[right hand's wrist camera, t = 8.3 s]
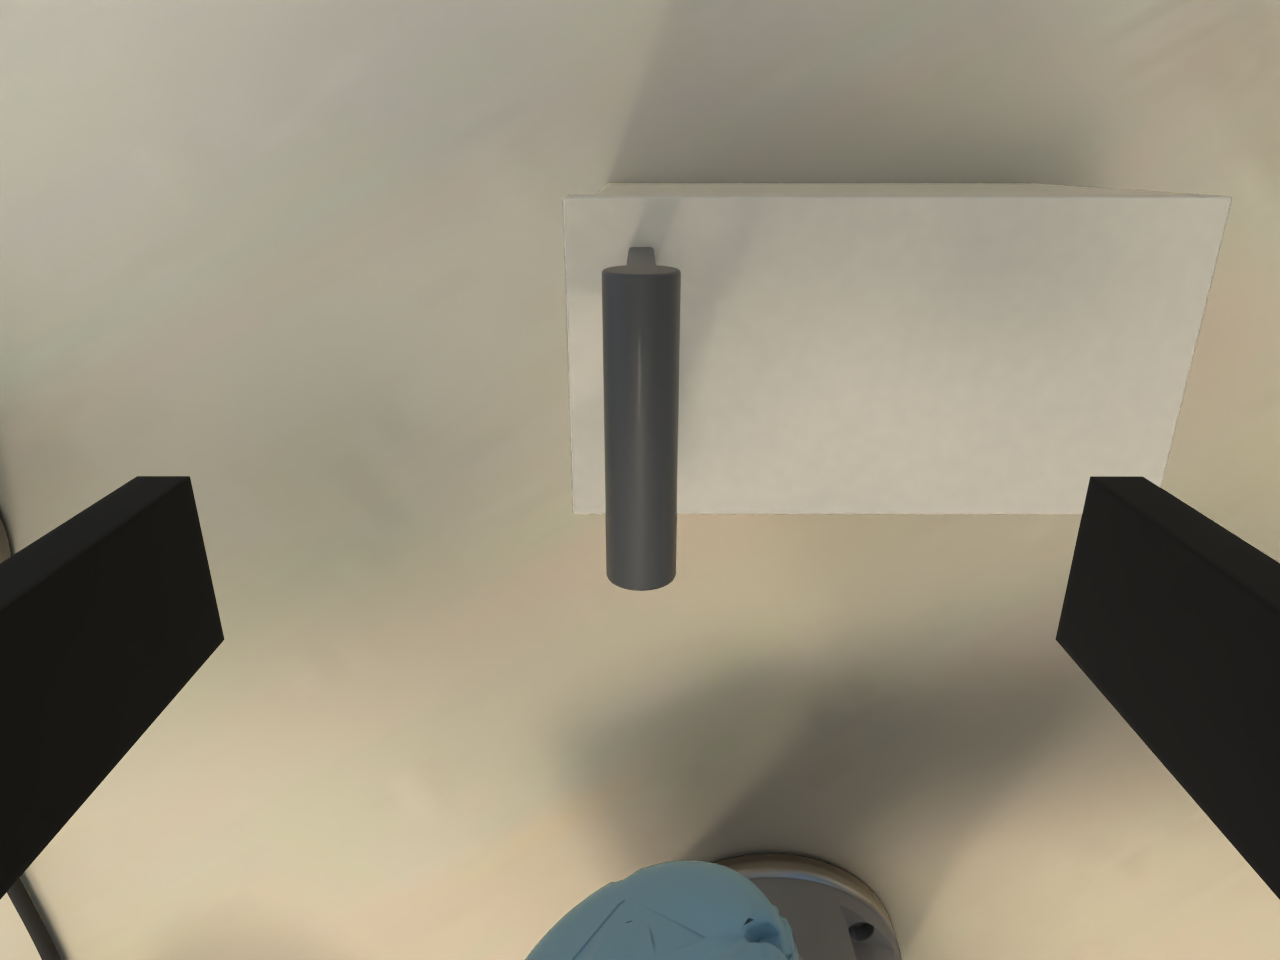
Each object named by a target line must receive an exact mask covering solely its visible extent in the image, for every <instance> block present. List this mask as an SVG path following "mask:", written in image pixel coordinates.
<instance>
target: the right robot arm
mask: <svg viewBox="0 0 1280 960" xmlns="http://www.w3.org/2000/svg"><path fill="white" fill-rule="evenodd" d="M223 640H224V636H223V631H222V626H221V622H220V617H219V612H218V608H217V603H216V598H215V593H214V589H213V584H212V579H211V575H210V570H209V565H208V560H207V556H206V551H205V546H204V541H203V537H202V532H201V527H200V523H199V518H198V513H197V508H196V504H195V499H194V494H193V489H192V485H191V480H190V476H137V477H136V478H134V479H132V480H131V481H129V482H128V483H126V484H125V485H123V486H121V487H120V488H118V489H117V490H115V491H114V492H112V493H110V494H109V495H107V496H106V497H104V498H103V499H101V500H99V501H98V502H96V503H95V504H93V505H92V506H90V507H88V508H87V509H85V510H84V511H82V512H81V513H79V514H77V515H76V516H74V517H73V518H71V519H70V520H68V521H66V522H65V523H63V524H62V525H60V526H59V527H57V528H55V529H54V530H52V531H51V532H49V533H48V534H46V535H44V536H43V537H41V538H40V539H38V540H37V541H35V542H33V543H32V544H30V545H29V546H27V547H25V548H24V549H22V550H21V551H19V552H18V553H16V554H14V555H13V556H11V553H10V547H9V541H8V538H7V534H6V531H5V527H4V525H3V522H2V520H1V517H0V899H1V898H2V897H3V896H4V895H5V893H6V892H7V894H8V895H9V897H10V899H11V901H12V903H13V904H14V906H15V908H16V910H17V912H18V914H19V915H20V917H21V919H22V921H23V923H24V925H25V927H26V928H27V930H28V932H29V934H30V936H31V938H32V940H33V942H34V944H35V946H36V948H37V950H38V952H39V954H40V956H41V959H42V960H61V959H60V956H59V954H58V952H57V950H56V948H55V945H54V943H53V941H52V939H51V937H50V935H49V933H48V931H47V929H46V927H45V925H44V923H43V921H42V919H41V917H40V915H39V913H38V911H37V910H36V908H35V906H34V904H33V902H32V900H31V898H30V896H29V895H28V893H27V891H26V889H25V887H24V885H23V884H22V882H21V880H20V878H19V877H20V876H21V875H22V874H23V873H24V871H25V870H26V869H27V868H28V867H29V866H30V864H31V863H32V862H33V861H34V860H35V859H36V857H37V856H38V855H39V854H40V853H41V852H42V850H43V849H44V848H45V847H46V846H47V845H48V843H49V842H50V841H51V840H52V839H53V838H54V837H55V835H56V834H57V833H58V832H59V831H60V830H61V828H62V827H63V826H64V825H65V824H66V823H67V821H68V820H69V819H70V818H71V817H72V816H73V814H74V813H75V812H76V811H77V810H78V809H79V807H80V806H81V805H82V804H83V803H84V802H85V801H86V799H87V798H88V797H89V796H90V795H91V794H92V792H93V791H94V790H95V789H96V788H97V787H98V785H99V784H100V783H101V782H102V781H103V780H104V778H105V777H106V776H107V775H108V774H109V773H110V772H111V770H112V769H113V768H114V767H115V766H116V765H117V763H118V762H119V761H120V760H121V759H122V758H123V756H124V755H125V754H126V753H127V752H128V751H129V749H130V748H131V747H132V746H133V745H134V744H135V742H136V741H137V740H138V739H139V738H140V737H141V736H142V734H143V733H144V732H145V731H146V730H147V729H148V727H149V726H150V725H151V724H152V723H153V722H154V720H155V719H156V718H157V717H158V716H159V715H160V713H161V712H162V711H163V710H164V709H165V708H166V707H167V705H168V704H169V703H170V702H171V701H172V700H173V698H174V697H175V696H176V695H177V694H178V693H179V691H180V690H181V689H182V688H183V687H184V686H185V684H186V683H187V682H188V681H189V680H190V679H191V677H192V676H193V675H194V674H195V673H196V672H197V671H198V669H199V668H200V667H201V666H202V665H203V664H204V662H205V661H206V660H207V659H208V658H209V657H210V655H211V654H212V653H213V652H214V651H215V650H216V648H217V647H218V646H219V645H220V644H221V643H222V642H223ZM1056 640H1057V642H1058V643H1059V644H1060V645H1061V646H1062V647H1063V648H1064V650H1065V651H1066V652H1067V653H1068V654H1069V655H1070V657H1071V658H1072V659H1073V660H1074V661H1075V662H1076V664H1077V665H1078V666H1079V667H1080V668H1081V669H1082V671H1083V672H1084V673H1085V674H1086V675H1087V676H1088V677H1089V679H1090V680H1091V681H1092V682H1093V683H1094V684H1095V686H1096V687H1097V688H1098V689H1099V690H1100V691H1101V693H1102V694H1103V695H1104V696H1105V697H1106V698H1107V700H1108V701H1109V702H1110V703H1111V704H1112V705H1113V707H1114V708H1115V709H1116V710H1117V711H1118V712H1119V713H1120V715H1121V716H1122V717H1123V718H1124V719H1125V720H1126V722H1127V723H1128V724H1129V725H1130V726H1131V727H1132V729H1133V730H1134V731H1135V732H1136V733H1137V734H1138V736H1139V737H1140V738H1141V739H1142V740H1143V741H1144V742H1145V744H1146V745H1147V746H1148V747H1149V748H1150V749H1151V751H1152V752H1153V753H1154V754H1155V755H1156V756H1157V758H1158V759H1159V760H1160V761H1161V762H1162V763H1163V765H1164V766H1165V767H1166V768H1167V769H1168V770H1169V772H1170V773H1171V774H1172V775H1173V776H1174V777H1175V778H1176V780H1177V781H1178V782H1179V783H1180V784H1181V785H1182V787H1183V788H1184V789H1185V790H1186V791H1187V792H1188V794H1189V795H1190V796H1191V797H1192V798H1193V799H1194V801H1195V802H1196V803H1197V804H1198V805H1199V806H1200V808H1201V809H1202V810H1203V811H1204V812H1205V813H1206V814H1207V816H1208V817H1209V818H1210V819H1211V820H1212V821H1213V823H1214V824H1215V825H1216V826H1217V827H1218V828H1219V830H1220V831H1221V832H1222V833H1223V834H1224V835H1225V837H1226V838H1227V839H1228V840H1229V841H1230V842H1231V843H1232V845H1233V846H1234V847H1235V848H1236V849H1237V850H1238V852H1239V853H1240V854H1241V855H1242V856H1243V857H1244V859H1245V860H1246V861H1247V862H1248V863H1249V864H1250V866H1251V867H1252V868H1253V869H1254V870H1255V871H1256V873H1257V874H1258V875H1259V876H1260V877H1261V878H1262V879H1263V881H1264V882H1265V883H1266V884H1267V885H1268V886H1269V888H1270V889H1271V890H1272V891H1273V892H1274V893H1275V895H1276V896H1277V897H1278V898H1279V899H1280V563H1278V562H1277V561H1275V560H1273V559H1272V558H1270V557H1269V556H1267V555H1266V554H1264V553H1262V552H1261V551H1259V550H1258V549H1256V548H1255V547H1253V546H1251V545H1250V544H1248V543H1247V542H1245V541H1243V540H1242V539H1240V538H1239V537H1237V536H1236V535H1234V534H1232V533H1231V532H1229V531H1228V530H1226V529H1225V528H1223V527H1221V526H1220V525H1218V524H1217V523H1215V522H1214V521H1212V520H1210V519H1209V518H1207V517H1206V516H1204V515H1203V514H1201V513H1199V512H1198V511H1196V510H1195V509H1193V508H1192V507H1190V506H1188V505H1187V504H1185V503H1184V502H1182V501H1181V500H1179V499H1177V498H1176V497H1174V496H1173V495H1171V494H1170V493H1168V492H1166V491H1165V490H1163V489H1162V488H1160V487H1159V486H1157V485H1155V484H1154V483H1152V482H1151V481H1149V480H1148V479H1146V478H1144V477H1143V476H1090V480H1089V485H1088V489H1087V494H1086V499H1085V504H1084V508H1083V513H1082V518H1081V523H1080V527H1079V532H1078V537H1077V541H1076V546H1075V551H1074V556H1073V560H1072V565H1071V570H1070V574H1069V579H1068V584H1067V589H1066V593H1065V598H1064V603H1063V608H1062V612H1061V617H1060V622H1059V626H1058V631H1057V636H1056Z"/></svg>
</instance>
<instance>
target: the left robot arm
mask: <svg viewBox="0 0 1280 960" xmlns="http://www.w3.org/2000/svg"><path fill="white" fill-rule="evenodd" d="M525 960H901V955H900V949H899V946H898V943H897V940H896V937H895V934H894V931H893V928H892V925H891V922H890V919H889V916H888V914H887V912H886V910H885V908H884V906H883V905H882V903H881V902H880V900H879V899H878V898H877V897H876V895H875V894H874V893H873V892H872V891H871V890H870V889H869V888H868V887H867V886H866V885H865V884H864V883H862V882H861V881H860V880H858V879H857V878H856V877H854V876H852V875H851V874H849V873H847V872H846V871H844V870H842V869H840V868H838V867H835V866H833V865H830V864H828V863H825V862H822V861H819V860H815V859H812V858H807V857H802V856H797V855H788V854H753V855H745V856H739V857H734V858H729V859H725V860H722V861H718V862H715V863H710V862H705V861H696V860H682V861H672V862H665V863H661V864H656V865H652V866H649V867H645V868H642V869H640V870H638V871H636V872H635V873H634V874H632V875H630V876H629V877H627V878H625V879H624V880H621V881H618V882H611V883H609V884H607V885H606V886H604V887H602V888H601V889H599V890H598V891H596V892H594V893H593V894H591V895H590V896H589V897H587V898H586V899H585V900H584V901H582V902H581V903H580V904H578V905H577V906H576V907H574V908H573V909H572V910H571V911H569V912H568V913H567V914H566V915H565V916H564V917H563V918H562V919H561V920H559V921H558V922H557V923H556V924H555V925H554V926H553V927H552V928H551V929H550V930H549V932H548V933H547V934H546V935H545V936H544V937H543V938H542V939H541V940H540V942H539V943H538V944H537V945H536V946H535V947H534V949H533V950H532V951H531V953H530V954H529V955H528V956H527V958H526V959H525Z"/></svg>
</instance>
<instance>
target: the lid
mask: <svg viewBox="0 0 1280 960" xmlns="http://www.w3.org/2000/svg"><path fill="white" fill-rule="evenodd" d="M1231 201H1232V197H1230V196H1217V195H567V196H565V197H563V223H564V254H565V285H566V316H567V347H568V379H569V410H570V441H571V472H572V503H573V514H606V568H607V577H608V579H609V580H610V581H611V582H612V583H613V584H615V585H616V586H619V587H621V588H625V589H629V590H639V591H644V590H653V589H658V588H661V587H664V586H666V585H668V584H669V583H671V582H672V581H673V579H674V577H675V575H676V528H677V514H1082V513H1083V508H1084V504H1085V499H1086V494H1087V489H1088V485H1089V480H1090V476H1143V477H1144V478H1146V479H1148V480H1149V481H1151V482H1152V483H1154V484H1155V485H1157V486H1159V487H1160V488H1161V485H1162V481H1163V477H1164V473H1165V469H1166V465H1167V461H1168V457H1169V453H1170V449H1171V445H1172V441H1173V436H1174V432H1175V428H1176V424H1177V420H1178V416H1179V412H1180V408H1181V404H1182V400H1183V396H1184V392H1185V388H1186V384H1187V380H1188V376H1189V371H1190V367H1191V363H1192V359H1193V355H1194V351H1195V347H1196V343H1197V339H1198V335H1199V331H1200V327H1201V323H1202V319H1203V315H1204V310H1205V306H1206V302H1207V298H1208V294H1209V290H1210V286H1211V282H1212V278H1213V274H1214V270H1215V266H1216V262H1217V258H1218V254H1219V250H1220V245H1221V241H1222V237H1223V233H1224V229H1225V225H1226V221H1227V217H1228V213H1229V209H1230V205H1231Z"/></svg>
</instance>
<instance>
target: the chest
mask: <svg viewBox="0 0 1280 960" xmlns="http://www.w3.org/2000/svg"><path fill="white" fill-rule="evenodd" d="M595 195H1199V194H1186V193H1171V192H1156V191H1141V190H1127V189H1112V188H1097V187H1082V186H1067V185H1052V184H1038V183H608V184H607V185H606V186H605V187H603V188H602V189H601V190H600V191H598V192H597V193H596V194H595Z"/></svg>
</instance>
